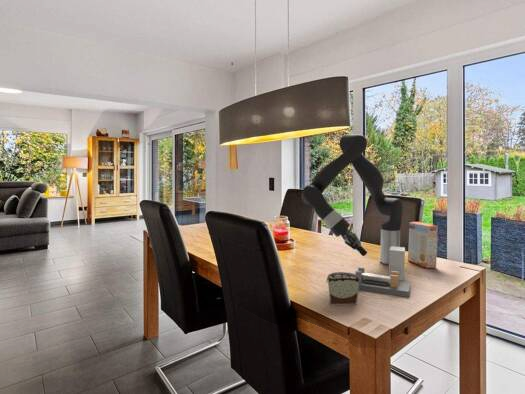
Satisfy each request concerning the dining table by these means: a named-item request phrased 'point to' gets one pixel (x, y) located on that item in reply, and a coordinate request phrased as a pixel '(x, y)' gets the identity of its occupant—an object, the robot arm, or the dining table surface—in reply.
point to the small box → (397, 261)
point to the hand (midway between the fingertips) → (365, 254)
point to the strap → (376, 277)
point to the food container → (343, 288)
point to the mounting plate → (385, 284)
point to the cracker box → (423, 244)
